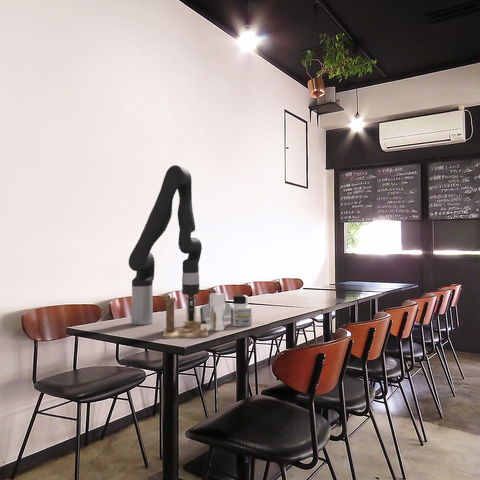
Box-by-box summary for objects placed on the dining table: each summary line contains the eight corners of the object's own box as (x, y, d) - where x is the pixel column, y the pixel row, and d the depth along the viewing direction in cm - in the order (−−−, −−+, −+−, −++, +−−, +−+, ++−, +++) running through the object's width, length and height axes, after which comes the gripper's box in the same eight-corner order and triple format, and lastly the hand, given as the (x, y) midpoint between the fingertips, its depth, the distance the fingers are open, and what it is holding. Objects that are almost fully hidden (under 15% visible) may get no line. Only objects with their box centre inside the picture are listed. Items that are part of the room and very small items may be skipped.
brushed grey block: (186, 327, 179) (186, 308, 179) (186, 325, 183) (186, 307, 183) (195, 326, 179) (195, 308, 180) (195, 325, 183) (195, 307, 184)
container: (234, 326, 179) (234, 296, 180) (230, 323, 187) (230, 294, 187) (251, 325, 181) (251, 295, 182) (246, 322, 189) (246, 293, 189)
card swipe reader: (205, 323, 187) (201, 302, 190) (200, 326, 190) (196, 304, 193) (236, 319, 197) (231, 299, 200) (230, 322, 200) (226, 301, 203)
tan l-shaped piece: (163, 338, 156) (162, 301, 156) (164, 330, 172) (164, 296, 172) (208, 336, 158) (207, 299, 159) (205, 328, 174) (205, 295, 174)
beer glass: (217, 327, 177) (216, 292, 177) (229, 329, 173) (228, 293, 173) (205, 330, 172) (205, 293, 172) (218, 331, 167) (217, 294, 168)
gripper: (182, 282, 188) (182, 320, 188) (182, 284, 174) (182, 325, 174) (198, 281, 189) (199, 319, 189) (200, 284, 175) (200, 324, 175)
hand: (191, 322), depth 181 cm, fingers closed on brushed grey block, 4 cm apart
